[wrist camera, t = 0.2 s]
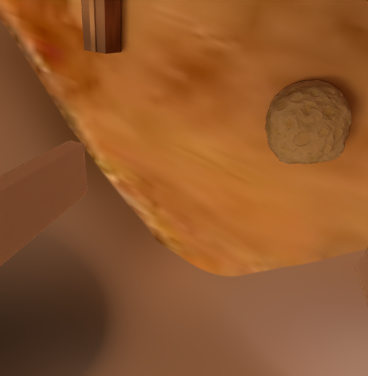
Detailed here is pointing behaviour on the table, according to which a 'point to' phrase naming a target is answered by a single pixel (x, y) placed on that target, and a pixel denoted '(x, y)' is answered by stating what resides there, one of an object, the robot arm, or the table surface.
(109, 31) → the brown wooden bar
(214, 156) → the table surface
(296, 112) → the decorative object
